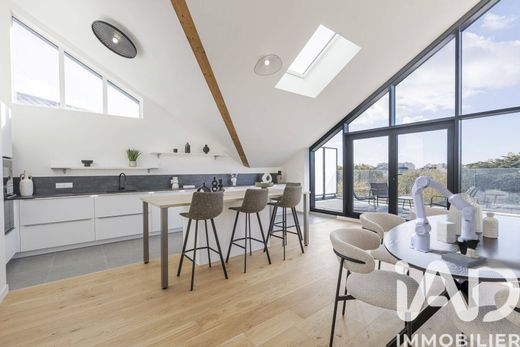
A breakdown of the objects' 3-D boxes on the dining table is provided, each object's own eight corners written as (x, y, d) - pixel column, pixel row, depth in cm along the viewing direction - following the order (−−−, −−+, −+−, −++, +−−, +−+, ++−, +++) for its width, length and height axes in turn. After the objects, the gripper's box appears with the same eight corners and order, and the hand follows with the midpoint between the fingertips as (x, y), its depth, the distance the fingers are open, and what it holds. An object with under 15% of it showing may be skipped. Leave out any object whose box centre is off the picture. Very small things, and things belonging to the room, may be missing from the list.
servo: (456, 257, 136) (456, 246, 136) (459, 256, 137) (459, 245, 137) (476, 263, 128) (476, 251, 127) (479, 262, 129) (479, 250, 129)
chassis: (441, 259, 133) (441, 254, 133) (460, 254, 140) (460, 250, 140) (467, 267, 122) (467, 263, 122) (486, 262, 129) (486, 257, 129)
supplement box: (456, 242, 161) (456, 223, 160) (446, 243, 160) (446, 223, 159) (445, 239, 168) (446, 220, 168) (436, 239, 167) (436, 221, 167)
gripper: (469, 231, 125) (468, 258, 126) (485, 228, 131) (484, 253, 132) (453, 228, 132) (453, 253, 132) (469, 225, 137) (468, 249, 138)
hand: (467, 253), depth 132 cm, fingers open, 7 cm apart
